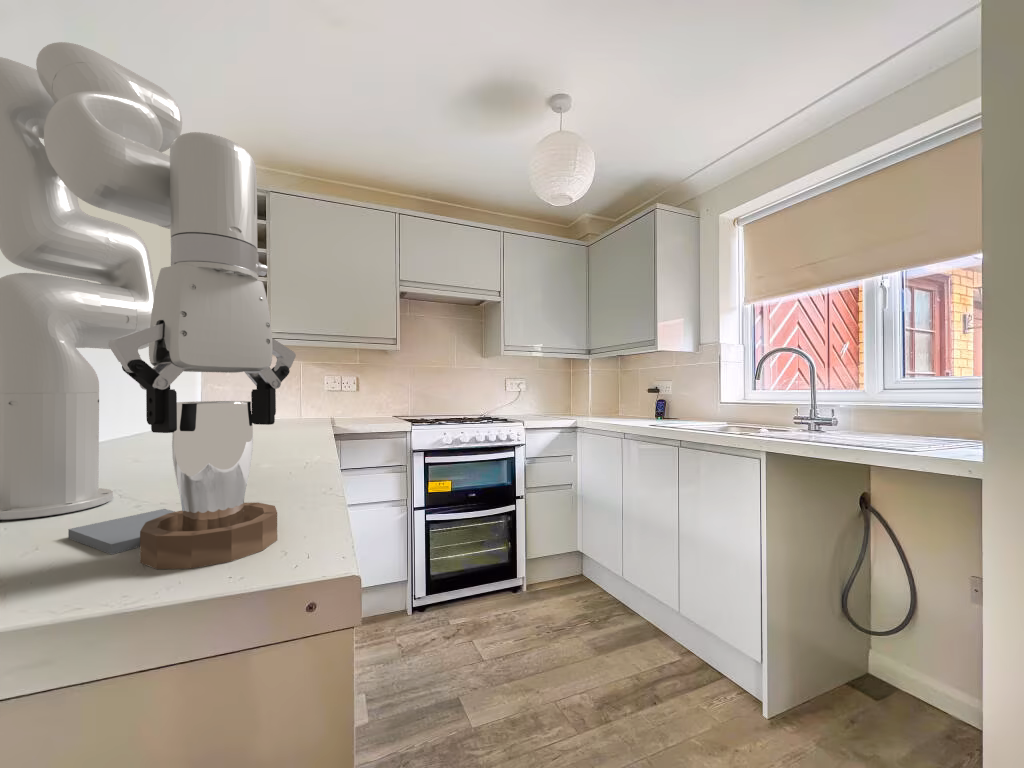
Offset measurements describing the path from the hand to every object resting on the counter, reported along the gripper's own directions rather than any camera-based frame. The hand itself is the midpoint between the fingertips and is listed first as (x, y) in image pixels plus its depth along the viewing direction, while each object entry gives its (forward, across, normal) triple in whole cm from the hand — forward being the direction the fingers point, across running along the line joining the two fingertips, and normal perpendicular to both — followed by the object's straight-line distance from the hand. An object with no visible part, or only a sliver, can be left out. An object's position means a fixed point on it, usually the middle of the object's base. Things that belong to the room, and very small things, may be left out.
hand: (218, 427), depth 46 cm
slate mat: (+12, +2, -12) cm, 17 cm away
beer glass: (+12, 0, -1) cm, 13 cm away
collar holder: (+12, 0, -1) cm, 12 cm away
